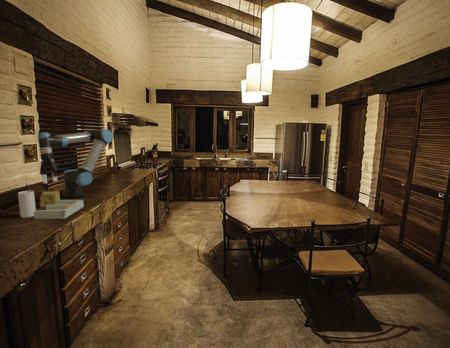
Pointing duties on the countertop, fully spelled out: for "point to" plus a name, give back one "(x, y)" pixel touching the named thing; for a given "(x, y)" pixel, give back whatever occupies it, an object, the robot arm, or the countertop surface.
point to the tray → (59, 209)
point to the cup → (26, 203)
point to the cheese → (49, 198)
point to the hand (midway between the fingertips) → (50, 182)
